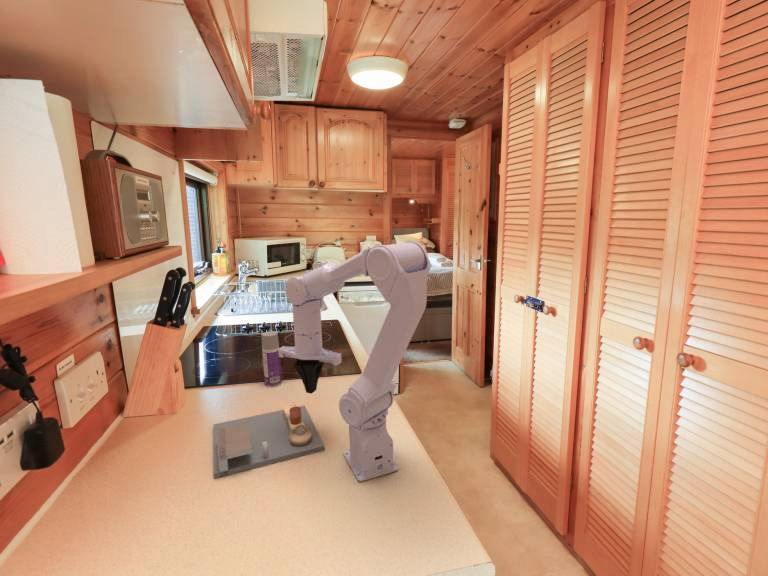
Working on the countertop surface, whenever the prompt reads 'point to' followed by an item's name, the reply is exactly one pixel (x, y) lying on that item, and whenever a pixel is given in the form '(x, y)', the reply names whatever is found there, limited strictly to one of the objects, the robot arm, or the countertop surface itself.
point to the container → (271, 359)
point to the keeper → (232, 444)
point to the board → (267, 441)
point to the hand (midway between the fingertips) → (311, 391)
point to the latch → (297, 426)
